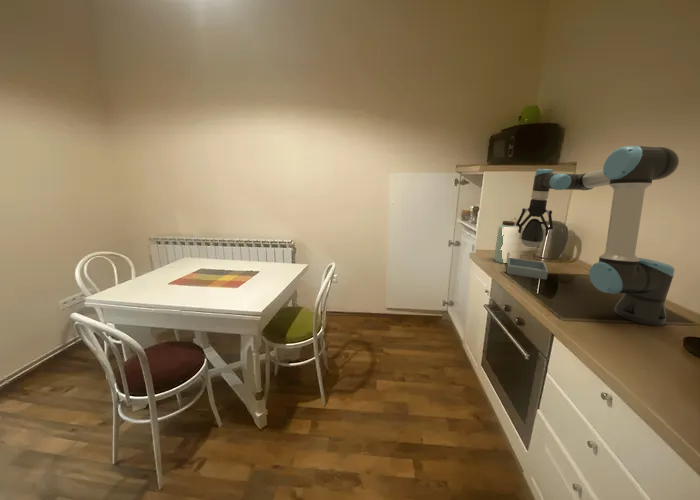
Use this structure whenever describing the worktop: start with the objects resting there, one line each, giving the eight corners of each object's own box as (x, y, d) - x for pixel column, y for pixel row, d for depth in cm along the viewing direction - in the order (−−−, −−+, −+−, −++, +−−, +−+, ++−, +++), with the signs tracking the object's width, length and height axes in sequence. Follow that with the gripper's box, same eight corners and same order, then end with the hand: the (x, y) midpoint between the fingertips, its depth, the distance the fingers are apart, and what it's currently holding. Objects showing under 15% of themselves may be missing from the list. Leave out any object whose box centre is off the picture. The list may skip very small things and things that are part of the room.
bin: (546, 279, 163) (548, 271, 162) (507, 273, 171) (508, 265, 170) (543, 269, 179) (544, 262, 178) (507, 264, 187) (508, 257, 186)
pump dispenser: (540, 249, 164) (545, 220, 160) (518, 246, 170) (523, 218, 166) (542, 245, 172) (547, 218, 168) (521, 242, 178) (526, 216, 174)
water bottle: (493, 262, 191) (499, 222, 184) (494, 258, 199) (500, 219, 193) (511, 265, 186) (518, 223, 180) (511, 260, 195) (518, 221, 188)
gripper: (563, 200, 163) (554, 241, 169) (514, 197, 172) (508, 236, 178) (565, 201, 156) (556, 244, 162) (515, 198, 166) (508, 238, 172)
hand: (531, 240), depth 170 cm, fingers closed on pump dispenser, 10 cm apart
